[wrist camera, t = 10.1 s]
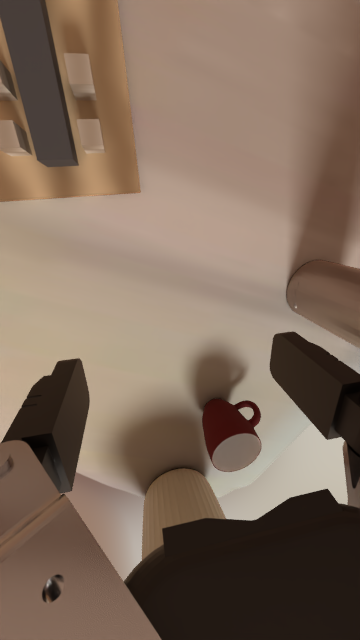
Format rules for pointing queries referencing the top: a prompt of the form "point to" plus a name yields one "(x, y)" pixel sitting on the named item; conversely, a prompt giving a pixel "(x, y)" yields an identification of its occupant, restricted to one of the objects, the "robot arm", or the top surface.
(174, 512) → the canister
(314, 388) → the robot arm
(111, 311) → the top surface
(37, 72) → the grey and orange bar
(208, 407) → the mug
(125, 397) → the top surface
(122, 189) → the board
